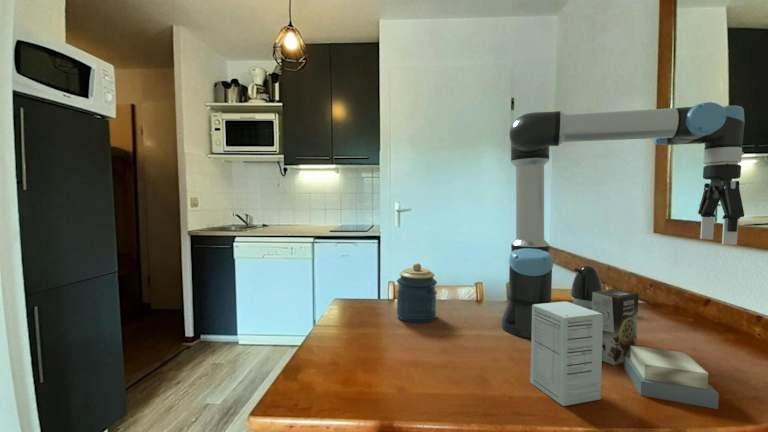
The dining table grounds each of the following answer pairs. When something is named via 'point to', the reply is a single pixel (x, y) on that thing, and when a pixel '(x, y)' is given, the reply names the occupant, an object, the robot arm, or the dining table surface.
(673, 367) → the birch top slab
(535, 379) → the supplement box
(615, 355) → the coffee box
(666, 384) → the grey base slab
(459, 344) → the dining table surface
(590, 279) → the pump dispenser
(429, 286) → the canister
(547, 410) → the dining table surface
